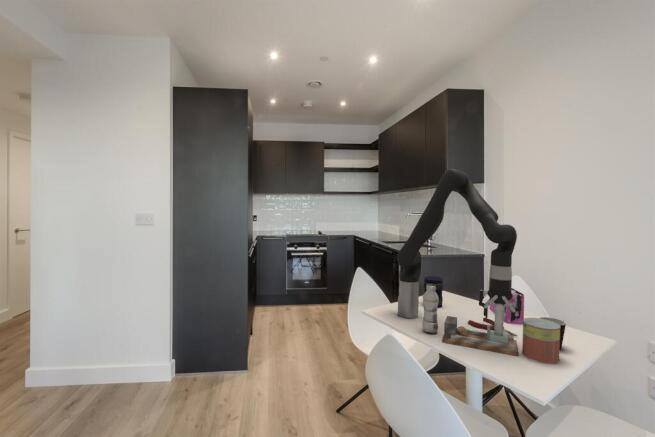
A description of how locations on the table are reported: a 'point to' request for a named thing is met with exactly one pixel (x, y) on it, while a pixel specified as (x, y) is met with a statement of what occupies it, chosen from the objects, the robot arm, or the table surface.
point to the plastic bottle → (430, 309)
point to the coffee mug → (560, 328)
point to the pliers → (484, 326)
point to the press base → (475, 339)
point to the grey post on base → (498, 326)
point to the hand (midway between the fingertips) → (498, 319)
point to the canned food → (541, 340)
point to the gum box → (507, 312)
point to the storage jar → (439, 286)
